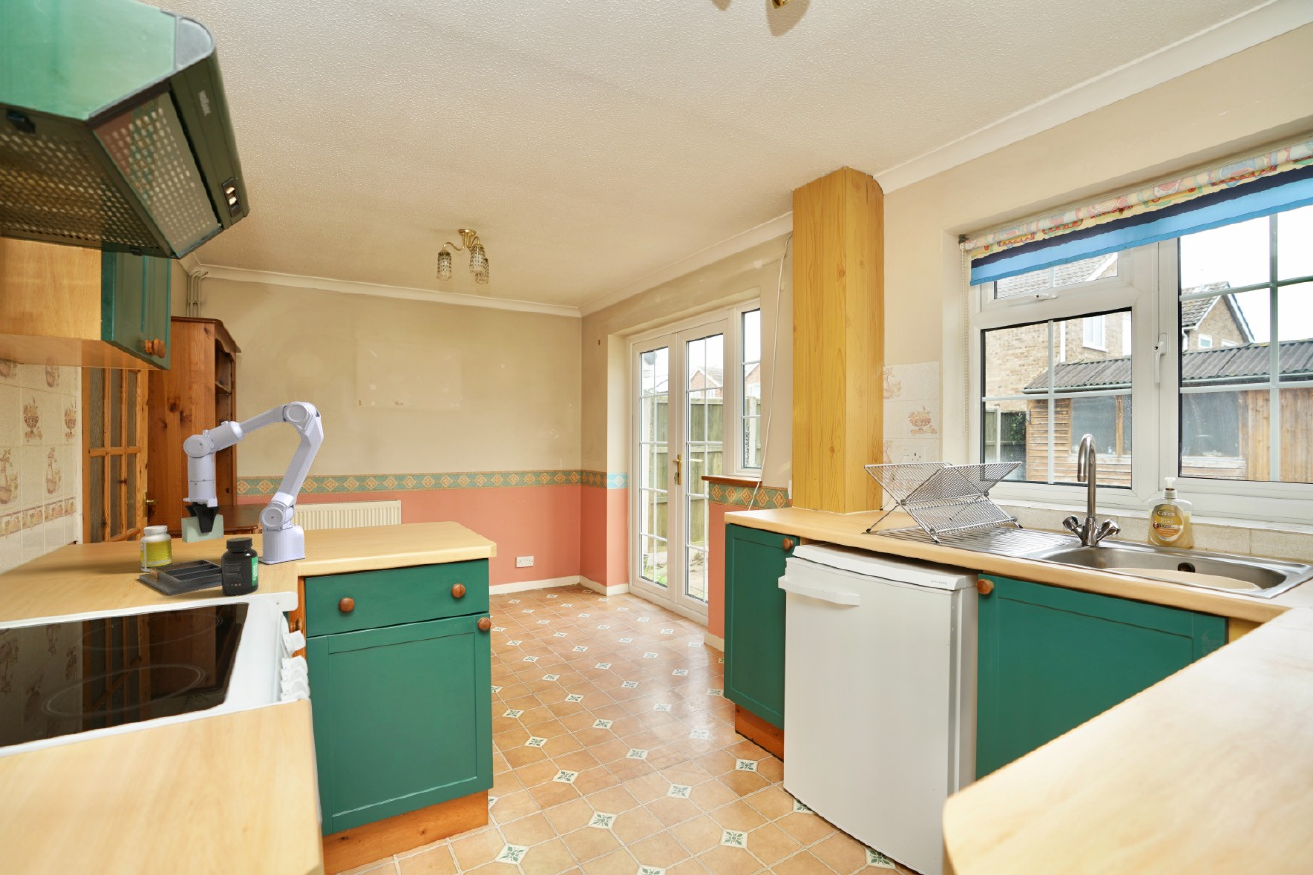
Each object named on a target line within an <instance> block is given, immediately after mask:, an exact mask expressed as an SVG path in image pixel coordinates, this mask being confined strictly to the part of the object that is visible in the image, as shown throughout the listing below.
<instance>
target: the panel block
mask: <svg viewBox="0 0 1313 875" xmlns="http://www.w3.org/2000/svg"><path fill="white" fill-rule="evenodd" d="M224 532H225V531H224V515H223V514H219V513H217V515H216V517H215V520H214V524H213V529H212V532H208V533H201V530H200V526H199V520H198V517H191V516H190V517H182V518H181V541H182V542H184V543H187V544H191V543H195V542H196V543H197V542H202V541H210V540H217V539H218V540H219V539H224Z"/></svg>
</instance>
